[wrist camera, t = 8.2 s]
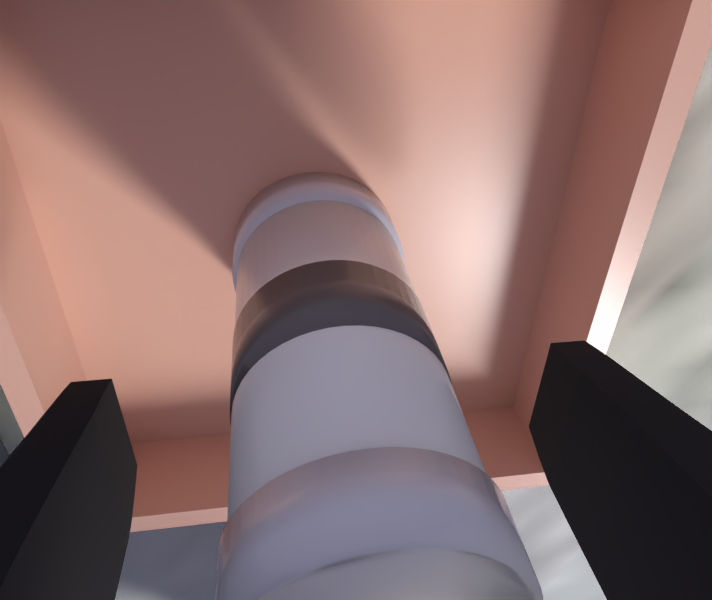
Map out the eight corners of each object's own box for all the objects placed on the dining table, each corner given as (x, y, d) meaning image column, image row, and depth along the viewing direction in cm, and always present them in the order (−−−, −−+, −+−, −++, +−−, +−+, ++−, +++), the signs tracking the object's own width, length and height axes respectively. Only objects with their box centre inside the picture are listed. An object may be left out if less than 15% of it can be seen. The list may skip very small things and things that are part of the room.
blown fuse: (399, 168, 13) (576, 521, 6) (390, 306, 15) (513, 689, 8) (225, 175, 13) (188, 569, 5) (241, 317, 15) (231, 732, 8)
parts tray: (644, -77, 12) (748, -65, 9) (522, 407, 19) (561, 483, 17) (-93, -87, 10) (-204, -74, 7) (94, 447, 18) (69, 539, 15)
